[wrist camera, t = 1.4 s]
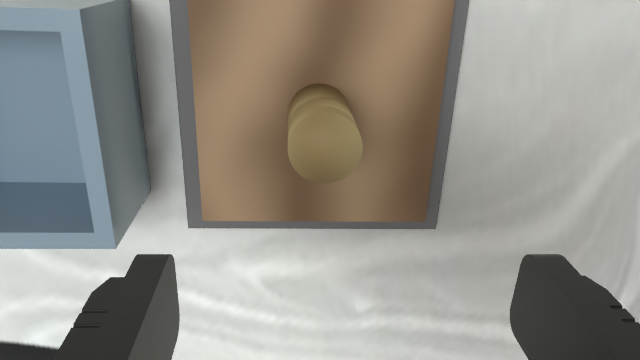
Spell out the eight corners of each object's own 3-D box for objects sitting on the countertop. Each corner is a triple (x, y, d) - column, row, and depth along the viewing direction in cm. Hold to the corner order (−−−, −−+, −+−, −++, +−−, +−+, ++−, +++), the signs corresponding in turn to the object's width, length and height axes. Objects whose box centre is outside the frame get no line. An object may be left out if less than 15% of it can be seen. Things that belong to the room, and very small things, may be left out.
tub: (128, -3, 23) (79, 9, 18) (150, 190, 27) (115, 248, 22) (-96, -10, 23) (-218, 0, 17) (-40, 189, 27) (-124, 248, 21)
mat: (470, -37, 24) (474, -37, 23) (433, 223, 29) (435, 228, 29) (168, -49, 23) (165, -49, 22) (190, 222, 28) (188, 227, 28)
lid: (450, -15, 23) (498, -6, 18) (420, 213, 28) (451, 274, 23) (189, -24, 23) (157, -18, 17) (205, 212, 28) (184, 275, 22)
